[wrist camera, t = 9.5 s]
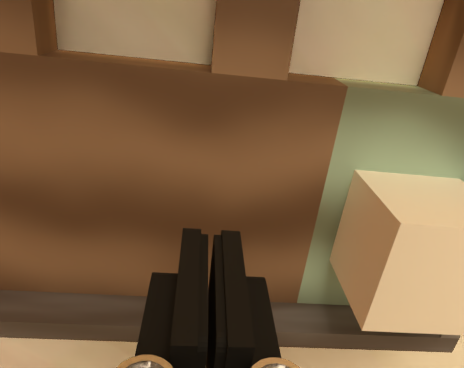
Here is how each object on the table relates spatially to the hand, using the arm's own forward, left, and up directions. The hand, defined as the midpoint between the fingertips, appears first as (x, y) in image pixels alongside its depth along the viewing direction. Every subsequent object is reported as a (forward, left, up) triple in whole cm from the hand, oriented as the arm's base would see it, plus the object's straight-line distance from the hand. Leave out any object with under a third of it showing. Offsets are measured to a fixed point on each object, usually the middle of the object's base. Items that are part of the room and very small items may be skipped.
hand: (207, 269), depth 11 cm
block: (+1, +9, -6) cm, 11 cm away
